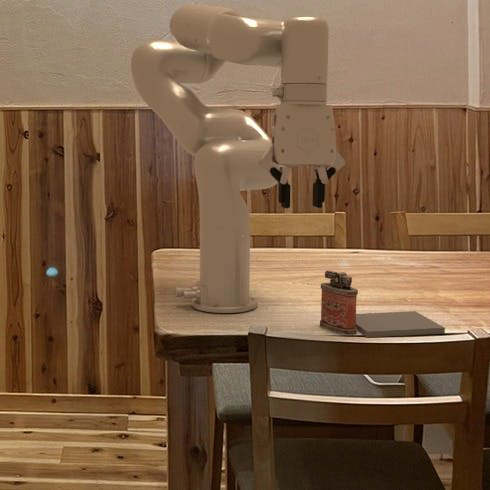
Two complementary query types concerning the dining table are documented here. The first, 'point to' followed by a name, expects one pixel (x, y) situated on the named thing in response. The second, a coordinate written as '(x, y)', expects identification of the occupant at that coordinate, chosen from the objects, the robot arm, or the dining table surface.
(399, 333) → the mat
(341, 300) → the lighter
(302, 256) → the dining table surface
